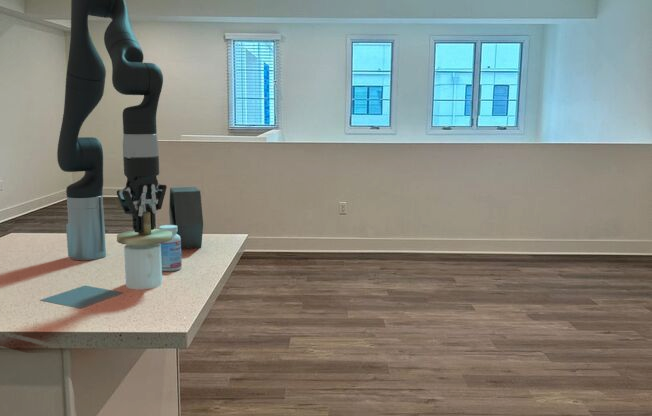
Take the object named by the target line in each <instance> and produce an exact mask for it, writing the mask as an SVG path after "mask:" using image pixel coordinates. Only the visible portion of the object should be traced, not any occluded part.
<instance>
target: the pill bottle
mask: <svg viewBox="0 0 652 416" xmlns="http://www.w3.org/2000/svg"><path fill="white" fill-rule="evenodd" d="M158 229H162V230H168V231H171V232H172V239H171V240H170V241H167V242H164V243H159V244H161V261H162V272H174V271H176V272H177V271H179V270H181V268H182V267H183V265H182V264H183V263H182V262H183V261H182V249H181V238H180V236H179V235H178V234H177V231H178V229H177V226H176V225H170V224H164V225H160V226H158Z"/></svg>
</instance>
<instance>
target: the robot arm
mask: <svg viewBox="0 0 652 416" xmlns="http://www.w3.org/2000/svg"><path fill="white" fill-rule="evenodd" d="M70 4H71V5H70V7H71V8H70V9H71V10H70V40H69V51H68V59H67V68H66V76H65V77H66V78H65V89H64V90H65V91H64V92H65V93H64V104H63V114H62V122H61V125H60V126H61V127H60V131H59V137H58V143H57V153H56V157H57V163H58V166H59V168H60V170H62V171H63V172H66V173H79V172H84V175H83V177H81V179H79V180H77V181H76V182H74V183H70V184H68V186H66V190H65V192H66V193H65V194H66V204H67V207H66V208H67V220H68V222H66V224H65V227H66V246H67V257H68V258H70V259H72V260H75V261H91V260H97V259H102V258H104V257H106V256H107V250H106V249H107V248H106V233H105V231H106V228H105V211H104V198H103V196H104V194H103V189H104V151H103V146H102V143H101V141H100V140H99V139H98V138H97V137H93V136H91V137H88V136H87V137H79V134H80V131H81V128H82V126H83V124H84V122H85V121H86V120H87V118H88V117H89V115H91V113H92V112H93V111H94V109H96V108H97V106H98V104H99V103H100V102H101V100H102V98H103V96H104V92H105V84H106V76H107V73H106V72H107V70H106V67H105V64H104V62H103V59H102V57H101V55H100V54H99V52H98V50H97V48H96V46H95V44H94V42H93V40H92V36H91V34H90V32H89V25H88V24H89V23H88V22H89V21H88V20H89V18H88V17H89V16H90V17H97V18H104V19H107V18H108V19H111V21H110V22H109V24H108V25H107V26H106V28H105V31H104V34H103V35H104V36H103V42H104V43H103V44H104V46H105V49H106V52H107V53H108V55H109V58H110V60H111V67H112V71H111V72H112V74H111V82H112V86H113V88H114V89H115V91H116V92H117V93H119V94H121V95H125V96H143V98H142V101H141V102H140V104H138V105H131V106H127V107H125V108H123V111H122V132H123V136H122V138H123V139H122V156H123V159H122V160H123V174H124V176H125V177H126V182H125V183H126V184H125V187H124V188H123V189H118V190H116V196H117V198H118V200H119V202H120V205H121V208H122V210H123V212H124V214H125V215H129V216H131V217H132V229H133V230H134V231H135V232H137V233H142V232H144V224H143V216H142V214H143V211H148V212H150V215H151V230H154V229H155V226H156V213H157V211H159V210H162V208H163V203H164V199H165V195H166V191H167V185H166V184H161V183H159V180H158V179H157V176H159V175H160V156H159V155H160V153H159V141H158V136H157V135H158V134H157V131H158V130H157V113H158V112H157V111H158V106H159V101H160V97H161V93H162V89H163V86H164V85H163V84H164V75H163V72H162V70H161V68H160V66H158V65H157V64H156V63H154V62H144V60H145V59H144V53H143V50H142V47H141V46H140V44H139V42H138V40H137V37H136V36H135V33H134V31H133V29H132V28H133V27H132V24H131V20H130V16H129V11H128V7H127V2H126V0H71V2H70Z"/></svg>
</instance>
